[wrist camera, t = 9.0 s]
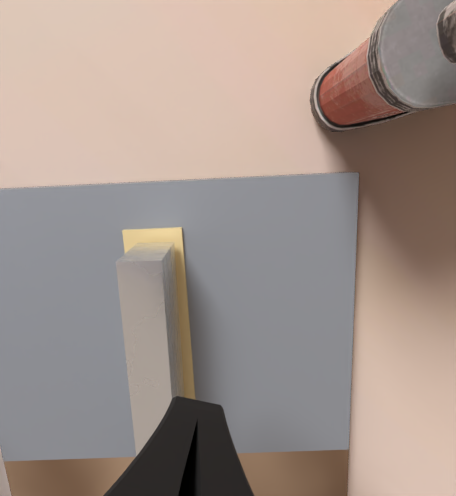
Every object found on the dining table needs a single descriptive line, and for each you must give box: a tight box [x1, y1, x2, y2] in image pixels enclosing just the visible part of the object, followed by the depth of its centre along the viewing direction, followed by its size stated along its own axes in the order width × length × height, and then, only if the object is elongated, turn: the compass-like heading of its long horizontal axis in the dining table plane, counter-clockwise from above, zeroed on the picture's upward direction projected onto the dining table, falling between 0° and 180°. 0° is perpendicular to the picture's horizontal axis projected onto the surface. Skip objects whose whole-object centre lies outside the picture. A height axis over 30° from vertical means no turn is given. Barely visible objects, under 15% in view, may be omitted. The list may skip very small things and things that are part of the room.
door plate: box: [0, 172, 359, 461], centre depth 18 cm, size 18×14×1 cm
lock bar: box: [116, 242, 184, 456], centre depth 16 cm, size 13×3×3 cm, turn 2°
